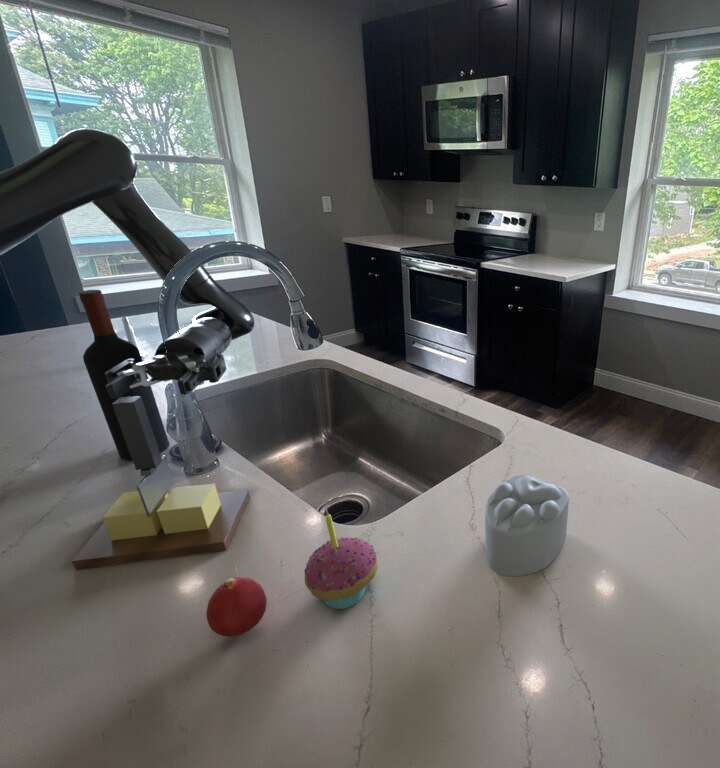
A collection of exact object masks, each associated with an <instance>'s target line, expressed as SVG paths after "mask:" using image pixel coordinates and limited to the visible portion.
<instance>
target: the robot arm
mask: <svg viewBox="0 0 720 768" xmlns="http://www.w3.org/2000/svg"><path fill="white" fill-rule="evenodd" d="M137 173H138V163H137V159H136V156H135V155H134V153H133V151H132V149H131V148H130V147H129V145H127V143H125V142H124V141H123V140H122V139H120V138H119V137H117V136H115V135H113V134H111V133H109V132H106V131H103V130H99V129H95V128H86V127H85V128H77V129H74V130H70V131H69V132H67V133H65V134H63V135H62V136H60V137H59V138H58V139H57V140H56V141H55V143H54V144H52V145H50V146H49V147H47V148H46V149H44V150H42V151H40V152H39V153H37V154H36V155H34V156H32V157H30V158H29V159H27V160H25V161H23V162H21V163H19V164H17V165H15V166H13V167H10V168H7V169H5V170H2V171H0V256H2V255H3V254H5V253H7V252H8V251H10V250H12V249H14V248H15V247H17V246H18V245H20V244H21V243H23V242H25V241H26V240H28V239H30V238H31V237H32V236H34V235H35V234H37V233H39V232H40V231H41V230H43V229H44V228H45V227H47V226H48V225H50V224H51V223H53V222H54V221H55V220H57V219H58V218H60V217H62V216H64V215H66V214H68V213H70V212H71V211H73V210H76V209H79V208H81V207H84V206H86V205H88V204H90V203H92V204H93V205H94V206H95V207H97V208H98V210H100V212H102V213H103V214H104V215H105V217H107V218H108V219H109V220H110V221H111V222H112V223H113V224H114V225H115V226H116V227H117V228H118V230H119V231H120V232H121V233H122V234H123V235H124V236H125V237H126V238H127V239H128V240H129V242H130V243H131V244H132V245H133V247H135V249H136V250H137V251H138V252H139V254H140V255H141V256H142V257H143V259H144V260H145V261H146V262H147V263H148V265H149V266H150V267H151V268H152V270H153V271H154V272H155V273H156V274H157V275H158V277H159V278H160V279H161V280H162V281H163V282H164V280H165V278H166V276H167V274H168V273H169V272H170V270H171V269H172V268H173V267H174V265H175V264H176V263H177V262H178V261H179V260H180V259H182V258H183V257H184V256H186V255H187V254H189V253H190V252H192V253H193V251H192V250H191V249H190V247H188V246H187V245H186V244H185V243H184V242H183V241H182V240H181V238H180V237H178V235H176V234H175V233H174V232H173V231H172V230H171V229H170V228H169V227H168V226H167V225H166V224H165V223H164V222H163V221H162V220H161V219H160V218H159V217H158V215H157V214H156V213H155V212H154V211H153V209H152V208H151V207H150V206H149V204H148V203H147V202H146V200H145V199H144V198H143V196H142V194H140V192H139V191H138V189H137V187H136V185H135V183H134V181H135V180H136V177H137ZM178 300H179V302H181V303H182V304H184V305H187V306H193V305H194V306H195V305H202V304H206V305H210V306H212V308H209V309H207V310H205V311H202V312H200V313H198V314H197V315H194V316H193V318H191V321H190V323H189V325H187V326H185V327H183V328H181V329H179V330H178V331H179V332H178V331H176V332H177V333H176V332H175V333H173V334H172V335H171V336H170V337H168V338H167V339H165V340H164V341H162V342H161V343H160V344H159V345H158V346H157V348H156V350H155V353H154V356H152V358H150V359H147V360H144V362H140V363H137V364H135V361H134V359H127V360H125V361H123V362H121V363H120V364H118V365H116V366H115V367H113V368H112V369H110V370H108V371H107V372H105V375H106V377H107V380H108V383H109V384H107V385H106V390H107V392H108V395H109V396H110V397H111V399H119V398H120V397H122V396H123V395H124V394H125V393H127V392H128V391H129V390H130V389H131V388H134V387H137V386H140V385H142V386H145V387H147V386H150V385H151V386H153V385H155V384H159V383H161V382H165V383H166V382H169V381H175V380H176V381H177V387H178V391H179V393H180V395H183V396H185V395H189V394H190V392H192V391H194V390H196V388H197V387H198V386H202V385H205V382H207V381H209V382H208V383H210V384H211V383H212V384H214V383H217V382H219V381H220V380H221V378H222V377H223V375H224V374H225V372H226V371H227V366H226V361H225V356H224V353H225V351H226V350H228V347H229V346H230V345H231V343H232V341H234V340H236V339H238V338H241V337H244V336H246V335H249V334H250V333H251V332H252V331H253V330H254V328H255V319H254V316H253V314H252V312H251V310H249V309H248V307H247V306H246V305H245V304H244V303H242V302H241V301H240V300H239V299H238V298H236V297H235V296H233V295H232V294H231V293H230V292H228V290H226V289H225V288H223V287H222V285H220V284H219V283H218V282H217V281H216V280H215V279H214V278H213V277H212V275H211V274H210V272H208V270H207V269H206V267H205V266H204V265H203V264H202V266H200V267H199V268H198V269H197V270H196V271H195V272H194V273H193V274H192V275H191V276H190V277H189V278H188V279H187V281H186V282H185V284H184V286H183V288H182V290H181V293H180V297H179V299H178ZM179 333H180V334H179ZM164 342H165V344H164ZM165 347H166V348H165ZM166 350H167V353H166ZM145 371H146V373H147V376H148V377H150V378H148V380H147V377H146V374H145ZM134 377H136V378H137V379H136V381H133V382H131V381H130V380H131V379H132V378H134Z"/></svg>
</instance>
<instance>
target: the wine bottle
mask: <svg viewBox="0 0 720 768" xmlns="http://www.w3.org/2000/svg"><path fill="white" fill-rule="evenodd" d="M78 294H79V299H80V303H81V304H82V305H83V308H84V311H85V314H86V316H87V317H86V318H87V320H88V322H89V323H88V324H89V325H90V328H91V331H92V333H93V342H92V343H91V344H89V346H87V348H86V349H85V350H84V353H83V355H82V360H83V363H84V366H85V368H86V371H87V374H88V376H89V379H90V382H91V384H92V387H93V390H94V392H95V395H96V397H97V400H98V402H99V406H100V408H101V410H102V414H103V416H104V418H105V419H104V420H105V421H106V424H107V427H108V429H109V432H110V435H111V437H112V440H113V443H114V445H115V448H116V450H117V453H118V456H119V457H120V459H121V460H124V461H128V462H129V461H130V462H133V460H132V458H131V455H130V452H129V449H128V447H127V444H126V441H125V438H124V436H123V433H122V430H121V427H120V425H119V422H118V419H117V416H116V414H115V411H114V408H113V406H112V404H113V403H114V402H115V401H116V400H118V399H111V397H110V396H109V395H108V392H107V390H106V385H107V384H109V383H108V380H107V377H106V375H105V372H107V371H108V370H110V369H112V368H113V367H115V366H116V365H118V364H120V363H121V362H123V361H125V360H127V359H134V361H135V364H137V363H140V362H143V360H142V357H141V354H140V352H141V351H140V349H139V350H138V348H139V347H138V348H137V347H136V346H135V345H133V344H132V343H131V342H129V341H128V340H127V339H124V338H121V337H120V336H118V335H117V333H116V330H115V328H114V325H113V322H112V319H111V315H110V314H109V311H108V308H107V305H106V301H105V297H104V294H103V292H102V290H101V289H87V290H81V291H78ZM145 374H146V377H147V380H148V379H149V375H148V374H147V373H146V371H145ZM136 379H137V378H136V377H134V378H132V379H131V380H130V381H131V382H133V381H136ZM134 396H141V398H142V401H143V404H144V407H145V410H146V413H147V416H148V419H149V422H150V425H151V428H152V431H153V434H154V437H155V440H156V443H157V446H158V449H159V452H160V454H161V453H163V452H164V451H166V450H167V449H168V447H169V446H170V441H169V438H168V435H167V433H166V429H165V426H164V423H163V420H162V416H161V414H160V413H161V412H160V410H159V407H158V404H157V401H156V398H155V395H154V391H153V389H152V385H150V386H147V387H145V386H142V385H140V386H137V387H134V388H131V389H130V390H129V391H128V392H127V393H125V394H124V395H123V396H122V397H134Z"/></svg>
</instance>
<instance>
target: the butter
mask: <svg viewBox="0 0 720 768" xmlns="http://www.w3.org/2000/svg"><path fill="white" fill-rule="evenodd" d="M218 493H219V492H218V489H217V486H216V483H205V484H195V485H186V486H176V487H173V488H172V490H171V491H170V492H167V494H166V495H165V497H164V498H163V499H162V501H161V502H160V504H159V505H158V506H157V508H156V509H155V511H154V512H153V513H152V515H151V516H150V517H148V516H147V514H146V511H145V508H144V506H143V503H142V500H141V498H140V495H139V492H138V490H136V491H127V492H122V494H121V495H120V496H119V497H118V498H117V500H115V502H114V503H113V504H112V505H111V507H109V508H108V510H107V511H106V512H105V513H104V515H103V516H102V517H101V518H102V522H103V523H104V524H105V526H106V528H107V531H108V533H109V535H110V538H111V540H120V539H128V538H136V537H145V536H153V535H157V534H158V532H159V531H160V529H161V528H162V527H163V530H164V533H165V534H169V533H178V532H186V531H194V530H202V529H208V528H209V526H210V524H211V522H212V521H213V519H214V517H215V515H216V513H217V511H218V509H219V507H220V505H221V503H220V500H219V496H218Z"/></svg>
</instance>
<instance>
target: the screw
mask: <svg viewBox="0 0 720 768" xmlns="http://www.w3.org/2000/svg"><path fill="white" fill-rule="evenodd" d="M121 321H122V325H123V330H124V332H125V334H124V335H125V336H126V339H127V341H129V342H131V343H132V344H133V345H135V346H136V347H137V348H138V350H139V351H140V347H139V345H138V341H137V339H136V338H137V337H136V335H135V332H134V328H133V326H132V325H131V323H130V321H129V318H128V316H125V315H124V316H122V317H121ZM140 354H141V357H142V360H143V362H144V361H145V358H147V357H148V356H149V353H148V352H146V351H140Z"/></svg>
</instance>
